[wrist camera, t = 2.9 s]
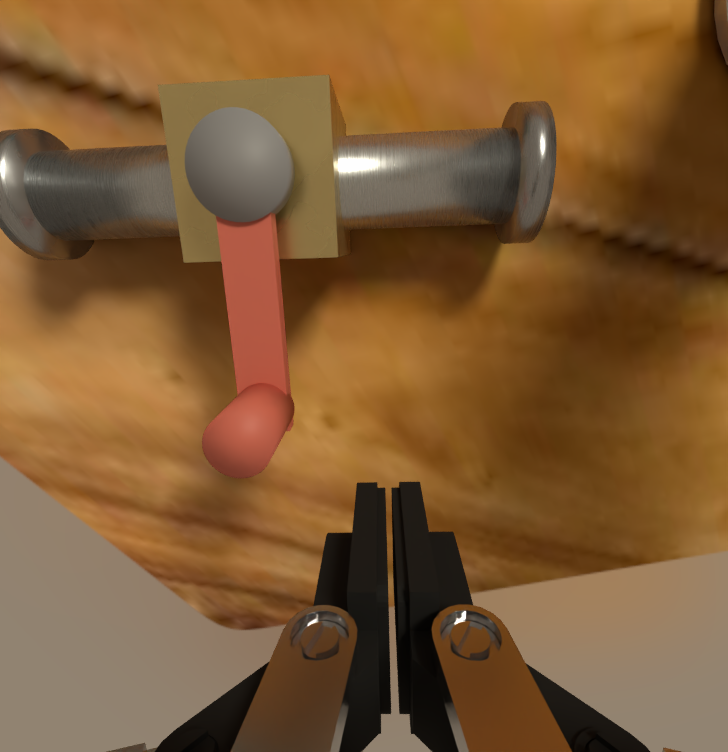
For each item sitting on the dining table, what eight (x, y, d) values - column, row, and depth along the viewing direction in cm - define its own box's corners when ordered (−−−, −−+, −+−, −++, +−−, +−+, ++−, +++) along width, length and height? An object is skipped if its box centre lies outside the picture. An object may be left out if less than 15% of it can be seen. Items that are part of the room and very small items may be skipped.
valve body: (518, 115, 24) (579, 54, 16) (510, 248, 26) (562, 249, 18) (63, 139, 26) (-75, 93, 18) (88, 263, 28) (-26, 270, 20)
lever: (190, 119, 17) (122, 74, 13) (290, 113, 17) (256, 66, 13) (231, 429, 21) (189, 478, 17) (313, 428, 21) (293, 477, 16)
